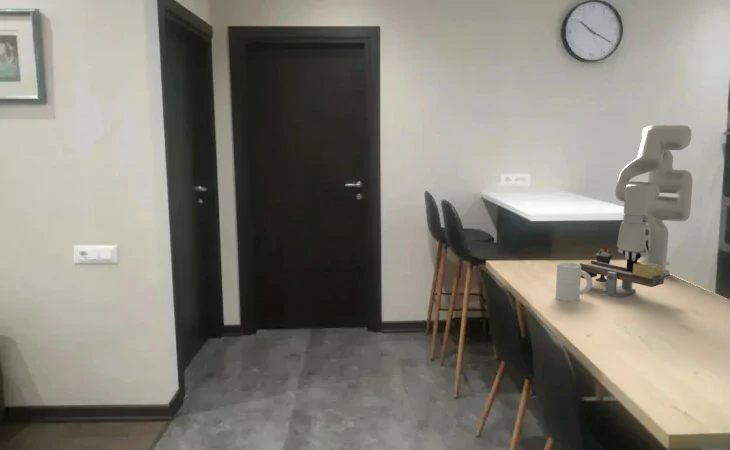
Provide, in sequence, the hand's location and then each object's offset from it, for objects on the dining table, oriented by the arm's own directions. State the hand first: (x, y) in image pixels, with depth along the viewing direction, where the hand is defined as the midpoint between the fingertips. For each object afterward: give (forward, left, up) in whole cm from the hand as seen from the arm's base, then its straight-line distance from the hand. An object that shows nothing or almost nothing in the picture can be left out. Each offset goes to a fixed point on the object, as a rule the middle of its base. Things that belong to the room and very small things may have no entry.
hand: (631, 270), depth 220 cm
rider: (0, +6, -2) cm, 6 cm away
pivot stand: (0, -4, -9) cm, 10 cm away
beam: (0, -4, -6) cm, 7 cm away
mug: (+19, -10, -9) cm, 23 cm away
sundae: (-12, -18, -9) cm, 24 cm away
